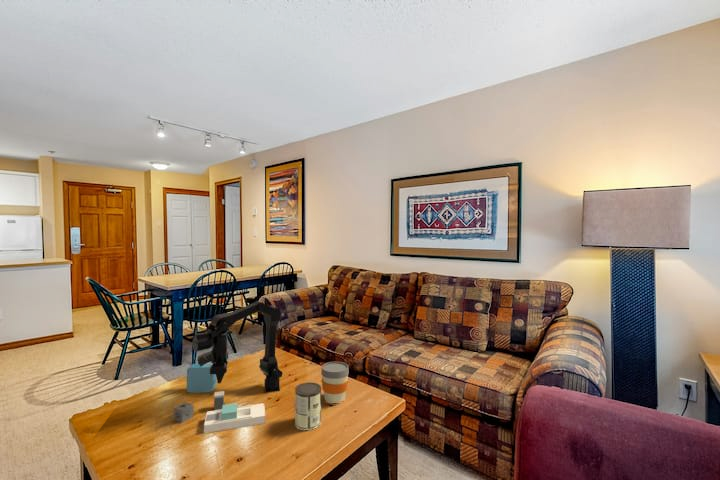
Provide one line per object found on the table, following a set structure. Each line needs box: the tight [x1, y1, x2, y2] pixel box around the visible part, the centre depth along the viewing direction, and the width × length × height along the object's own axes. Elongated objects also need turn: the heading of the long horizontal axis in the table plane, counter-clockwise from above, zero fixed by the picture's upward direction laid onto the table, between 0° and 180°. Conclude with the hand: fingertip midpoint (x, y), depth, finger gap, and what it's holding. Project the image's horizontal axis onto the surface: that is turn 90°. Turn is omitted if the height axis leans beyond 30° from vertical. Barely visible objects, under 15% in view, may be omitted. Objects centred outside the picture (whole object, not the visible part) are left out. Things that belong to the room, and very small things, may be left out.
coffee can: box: [294, 382, 322, 431], centre depth 130 cm, size 10×10×14 cm
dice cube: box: [173, 401, 194, 424], centre depth 132 cm, size 5×5×5 cm
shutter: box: [222, 402, 238, 420], centre depth 130 cm, size 6×7×2 cm
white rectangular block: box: [213, 390, 225, 411], centre depth 140 cm, size 4×4×6 cm
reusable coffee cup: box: [321, 361, 350, 403], centre depth 149 cm, size 13×12×15 cm
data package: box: [186, 363, 217, 394], centre depth 156 cm, size 12×4×12 cm, turn 93°
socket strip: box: [203, 403, 266, 434], centre depth 131 cm, size 22×10×3 cm, turn 109°
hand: (219, 381), depth 140 cm, fingers closed
